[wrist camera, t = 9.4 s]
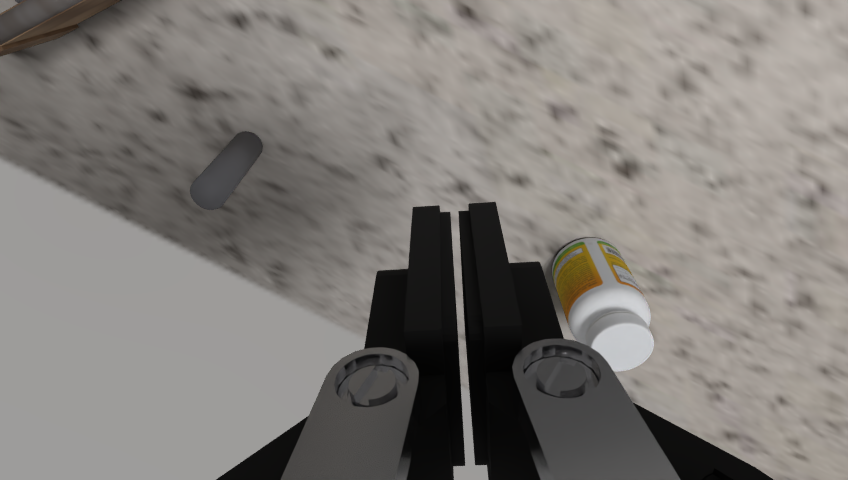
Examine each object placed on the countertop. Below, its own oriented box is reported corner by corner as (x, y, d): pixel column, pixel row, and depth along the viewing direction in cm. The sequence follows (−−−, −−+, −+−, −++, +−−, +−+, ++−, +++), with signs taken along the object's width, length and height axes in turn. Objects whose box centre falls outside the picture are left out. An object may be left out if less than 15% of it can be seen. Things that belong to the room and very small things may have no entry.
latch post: (230, 132, 39) (186, 179, 32) (258, 130, 38) (220, 177, 31) (237, 159, 40) (195, 210, 33) (265, 157, 39) (229, 208, 32)
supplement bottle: (549, 295, 45) (576, 382, 37) (552, 237, 42) (581, 316, 34) (617, 292, 45) (659, 378, 36) (624, 233, 42) (672, 312, 34)
